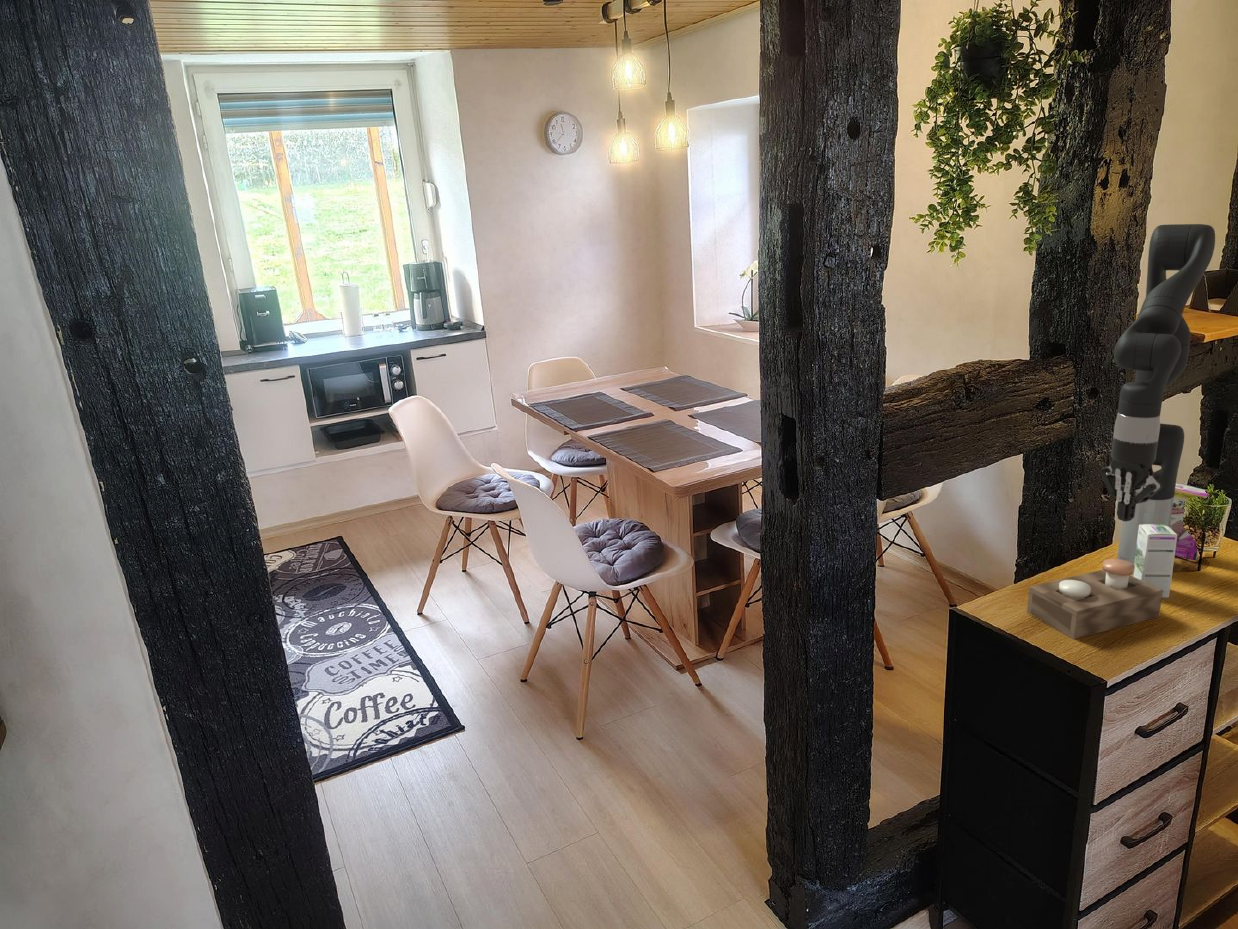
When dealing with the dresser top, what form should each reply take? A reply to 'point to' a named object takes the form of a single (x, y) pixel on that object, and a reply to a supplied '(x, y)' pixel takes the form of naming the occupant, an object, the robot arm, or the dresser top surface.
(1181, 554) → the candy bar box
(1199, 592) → the dresser top surface
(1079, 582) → the cream knob
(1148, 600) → the brown wooden block
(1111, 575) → the terracotta knob
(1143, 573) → the syrup box
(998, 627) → the dresser top surface
